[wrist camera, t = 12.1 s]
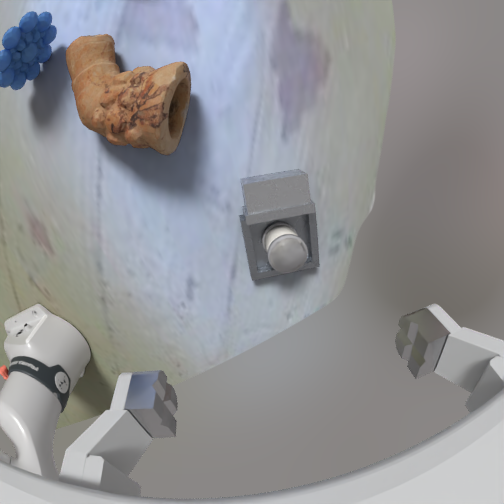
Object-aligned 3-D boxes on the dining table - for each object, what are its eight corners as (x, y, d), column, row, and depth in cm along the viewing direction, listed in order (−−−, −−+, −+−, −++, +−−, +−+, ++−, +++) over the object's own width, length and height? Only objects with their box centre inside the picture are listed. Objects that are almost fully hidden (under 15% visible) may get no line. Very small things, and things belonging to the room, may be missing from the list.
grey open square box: (250, 272, 43) (253, 287, 39) (232, 180, 37) (234, 186, 33) (314, 258, 43) (323, 272, 39) (305, 168, 37) (316, 173, 33)
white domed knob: (259, 225, 39) (265, 240, 34) (294, 218, 39) (306, 232, 34) (264, 257, 41) (271, 276, 36) (298, 251, 41) (309, 268, 36)
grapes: (53, 17, 21) (12, -4, 11) (79, 28, 24) (38, 4, 13) (14, 82, 25) (-35, 79, 14) (37, 96, 27) (-14, 94, 16)
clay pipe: (128, 165, 37) (221, 136, 33) (81, 190, 28) (189, 152, 24) (97, 55, 29) (186, 9, 25) (45, 54, 20) (144, -14, 16)
